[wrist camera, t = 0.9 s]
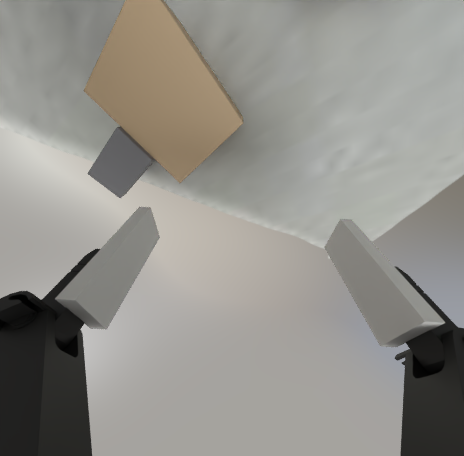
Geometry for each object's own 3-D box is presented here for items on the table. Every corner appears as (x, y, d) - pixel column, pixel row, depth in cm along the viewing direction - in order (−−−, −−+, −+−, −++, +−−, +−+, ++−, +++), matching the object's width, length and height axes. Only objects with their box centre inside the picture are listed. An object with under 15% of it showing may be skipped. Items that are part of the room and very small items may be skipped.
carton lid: (62, 144, 23) (52, 147, 22) (144, -25, 14) (135, -38, 13) (149, 212, 29) (144, 216, 28) (243, 122, 20) (243, 123, 19)
